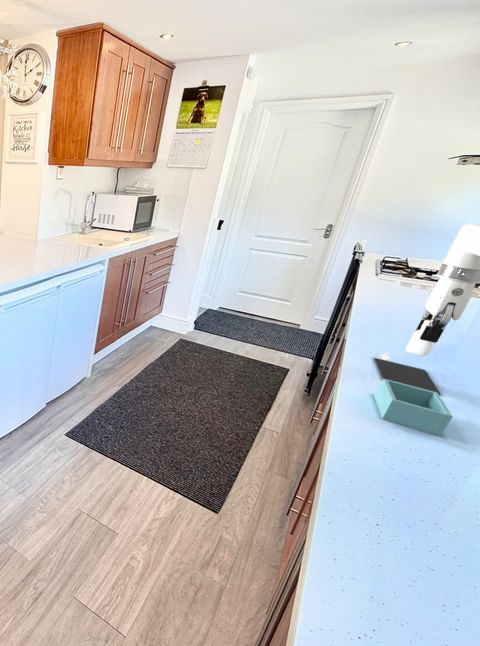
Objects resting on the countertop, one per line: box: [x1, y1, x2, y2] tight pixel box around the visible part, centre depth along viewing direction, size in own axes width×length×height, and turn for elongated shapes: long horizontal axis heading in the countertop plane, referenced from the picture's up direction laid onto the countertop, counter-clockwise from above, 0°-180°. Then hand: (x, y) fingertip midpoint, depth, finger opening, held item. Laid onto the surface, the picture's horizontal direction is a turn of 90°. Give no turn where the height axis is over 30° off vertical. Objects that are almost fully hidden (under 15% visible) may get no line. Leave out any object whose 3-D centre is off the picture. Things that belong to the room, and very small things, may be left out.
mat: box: [373, 357, 441, 396], centre depth 115 cm, size 11×17×1 cm, turn 143°
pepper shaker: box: [405, 320, 436, 357], centre depth 110 cm, size 4×4×10 cm
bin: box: [373, 379, 453, 437], centre depth 95 cm, size 10×13×5 cm
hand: (425, 336), depth 110 cm, fingers closed on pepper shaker, 4 cm apart
